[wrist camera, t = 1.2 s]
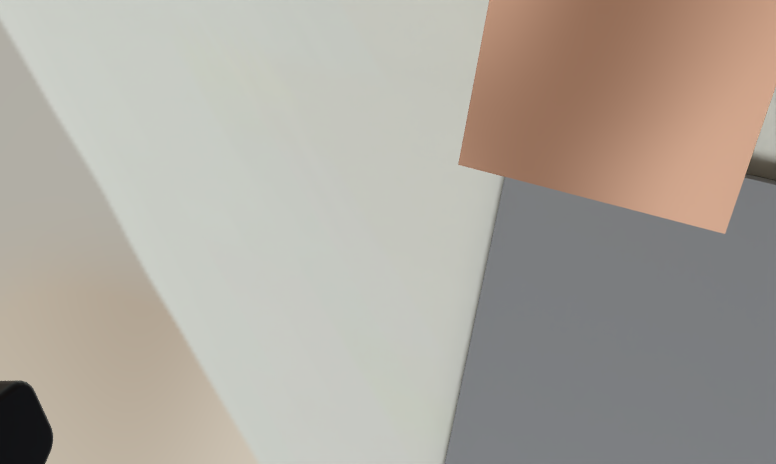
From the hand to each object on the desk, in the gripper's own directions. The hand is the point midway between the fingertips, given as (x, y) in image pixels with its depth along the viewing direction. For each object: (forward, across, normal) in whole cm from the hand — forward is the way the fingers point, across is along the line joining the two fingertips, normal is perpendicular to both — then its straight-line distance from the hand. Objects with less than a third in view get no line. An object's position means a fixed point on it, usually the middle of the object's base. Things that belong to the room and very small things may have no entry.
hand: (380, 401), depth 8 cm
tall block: (+14, -5, 0) cm, 15 cm away
